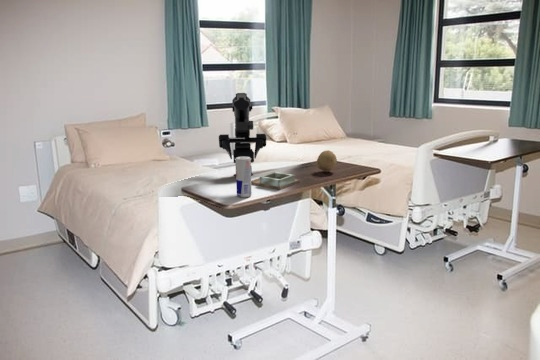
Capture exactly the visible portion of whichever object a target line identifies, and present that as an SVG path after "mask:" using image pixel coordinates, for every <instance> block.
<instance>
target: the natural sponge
mask: <svg viewBox="0 0 540 360" xmlns="http://www.w3.org/2000/svg"><path fill="white" fill-rule="evenodd" d="M337 163H338V159H337V156H336V154H335V153H334V152H333V151H331V150H330V149H329V150H323V151H322V152H320V154H319V155H318V157H317V159H316V163H315V165H316V167H317V168H318V169H319V170H321V171H322V172H324V173H328V172H330V171H331V170H333V169H334V168H335V167H336V165H337Z"/></svg>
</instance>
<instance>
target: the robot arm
mask: <svg viewBox="0 0 540 360" xmlns="http://www.w3.org/2000/svg"><path fill="white" fill-rule="evenodd" d="M231 101H232V103H231V105H232V106H231V107H232V108H231V110H232V113H233V114H234V136H235V137H230V135H229V134H227V133H226V134H225V133H223V134H219V135H218V145H219V148H220V149H222V150H225V151H226V152H227V154H228V156H229V158H230V160H233V164H236V158H237V157H243V156H246V157H250V159H251V163H252V164H253V163H254V162H255V159H256V158H257V156H258V153H259V152H260V150H261V149H263V148H265V147H267V134H266V133H256V135H255V137H251V130H254V120H250V117H249V116H250V113H251V112H252V110H253V105H252V103H251V99H250V98H249V97H248V94H247V93H246V92H237V93H235V97H234V98H232V100H231ZM231 144H234V148H233V149H232V148H231ZM251 144H254V145H255V146H254V150H253V148H251V147H252V145H251ZM232 150H233V151H232ZM232 153H233V154H232ZM252 171H253V170H252V167H251V176H253V175H254V173H253V172H252ZM233 176H234V177H236V173H234V174H233Z"/></svg>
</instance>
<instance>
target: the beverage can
mask: <svg viewBox="0 0 540 360" xmlns="http://www.w3.org/2000/svg"><path fill="white" fill-rule="evenodd" d="M235 160H236V163H235V174H236V176H235V179H236V182H235V183H236V197H238V198H241V199H243V198H250V197H251V196H252V184H251V181H252V175H251V168H252V164H251V159H250V157H246V156H243V157H237V158H236V159H235Z"/></svg>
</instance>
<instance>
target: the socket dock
mask: <svg viewBox="0 0 540 360" xmlns="http://www.w3.org/2000/svg"><path fill="white" fill-rule="evenodd" d="M295 176H296V175H295V174H290V173H285V172H278V171H277V172H276V171H273V172H269V173H267V174H264V175H261V176H259V177H258V178H255V179H253V180H252V179H251V186H252V185H253V186H258V187H263V188H264V187H265V188H269V189H276V190H283V189H285V187H286V188H288V187H290V186H291V187H292V186H294V185H296V184H298V183H300V179H297V178H296V177H295Z"/></svg>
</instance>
